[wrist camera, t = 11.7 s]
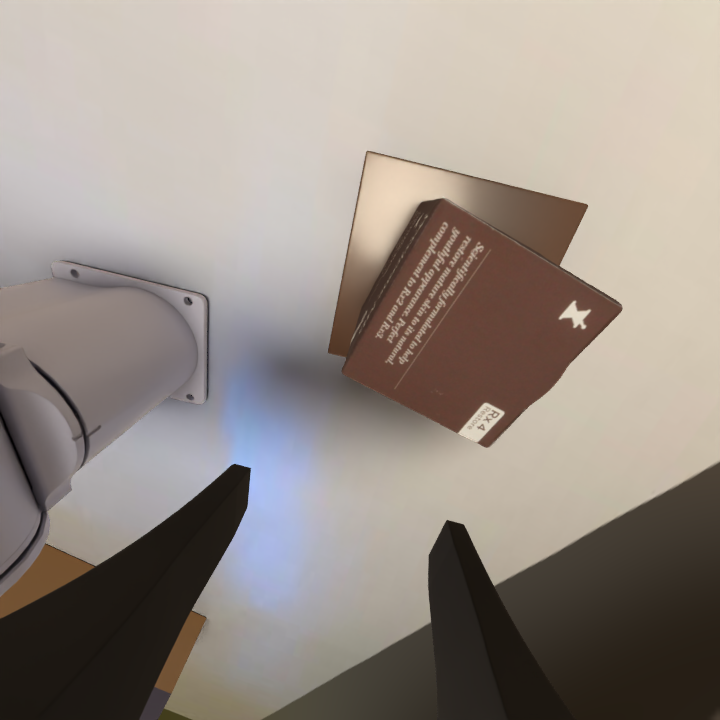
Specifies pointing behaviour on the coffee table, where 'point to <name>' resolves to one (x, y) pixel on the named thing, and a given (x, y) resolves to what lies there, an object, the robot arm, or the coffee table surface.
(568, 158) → the coffee table surface
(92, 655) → the robot arm
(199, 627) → the toy building blocks
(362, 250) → the copper block
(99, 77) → the coffee table surface
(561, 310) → the box
